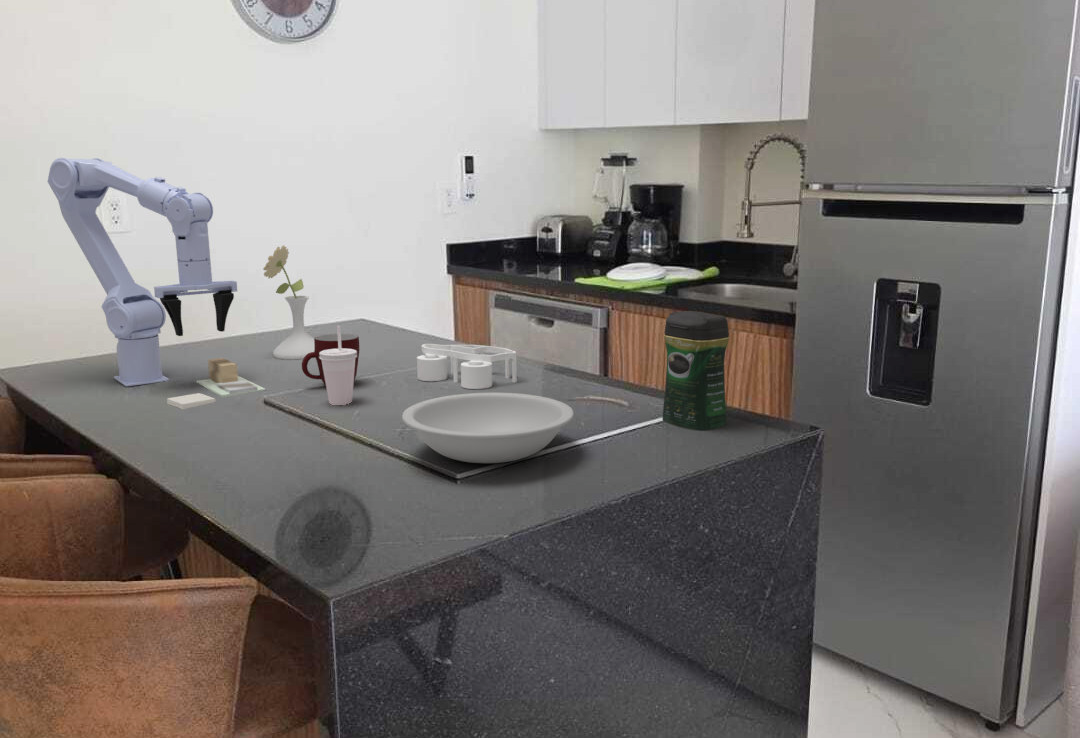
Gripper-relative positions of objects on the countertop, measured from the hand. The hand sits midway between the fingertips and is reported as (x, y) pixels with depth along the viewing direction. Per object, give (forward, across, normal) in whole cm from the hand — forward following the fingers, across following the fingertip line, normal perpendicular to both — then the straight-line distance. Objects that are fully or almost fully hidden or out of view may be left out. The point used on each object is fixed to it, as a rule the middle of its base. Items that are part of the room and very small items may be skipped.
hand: (200, 333), depth 175 cm
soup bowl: (+11, +18, -70) cm, 73 cm away
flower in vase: (+11, +24, +13) cm, 29 cm away
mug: (+11, +18, -18) cm, 27 cm away
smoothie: (+11, +14, -30) cm, 35 cm away
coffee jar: (+12, +51, -78) cm, 94 cm away
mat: (+10, +3, -4) cm, 12 cm away
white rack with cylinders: (+11, +39, -30) cm, 50 cm away
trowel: (+10, +3, -1) cm, 10 cm away
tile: (+10, -6, -9) cm, 15 cm away
